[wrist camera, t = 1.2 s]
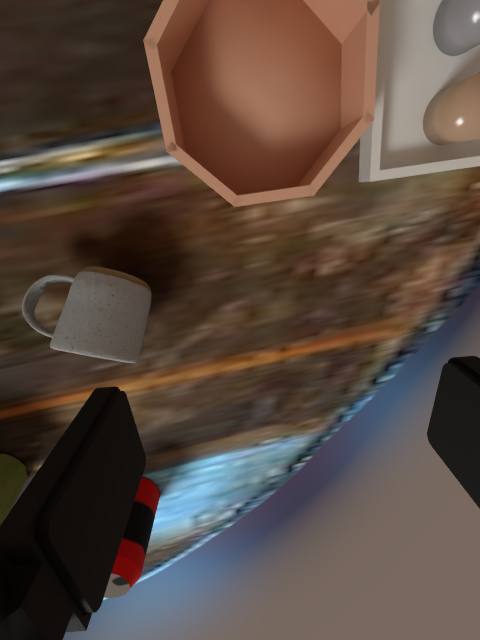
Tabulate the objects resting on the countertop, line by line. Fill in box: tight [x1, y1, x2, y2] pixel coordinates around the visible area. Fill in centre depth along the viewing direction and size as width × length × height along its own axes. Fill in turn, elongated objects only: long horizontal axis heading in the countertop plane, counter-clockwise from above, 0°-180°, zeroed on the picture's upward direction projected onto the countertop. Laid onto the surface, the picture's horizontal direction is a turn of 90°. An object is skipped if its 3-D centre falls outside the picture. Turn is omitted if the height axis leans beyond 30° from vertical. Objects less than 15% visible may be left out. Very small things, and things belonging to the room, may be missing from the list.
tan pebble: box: [423, 72, 480, 145], centre depth 24 cm, size 4×4×4 cm
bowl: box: [143, 0, 380, 207], centre depth 23 cm, size 16×16×6 cm
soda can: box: [104, 477, 160, 598], centre depth 40 cm, size 8×8×12 cm
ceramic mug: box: [22, 266, 151, 363], centre depth 27 cm, size 11×8×8 cm
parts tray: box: [359, 0, 480, 182], centre depth 24 cm, size 15×15×2 cm
